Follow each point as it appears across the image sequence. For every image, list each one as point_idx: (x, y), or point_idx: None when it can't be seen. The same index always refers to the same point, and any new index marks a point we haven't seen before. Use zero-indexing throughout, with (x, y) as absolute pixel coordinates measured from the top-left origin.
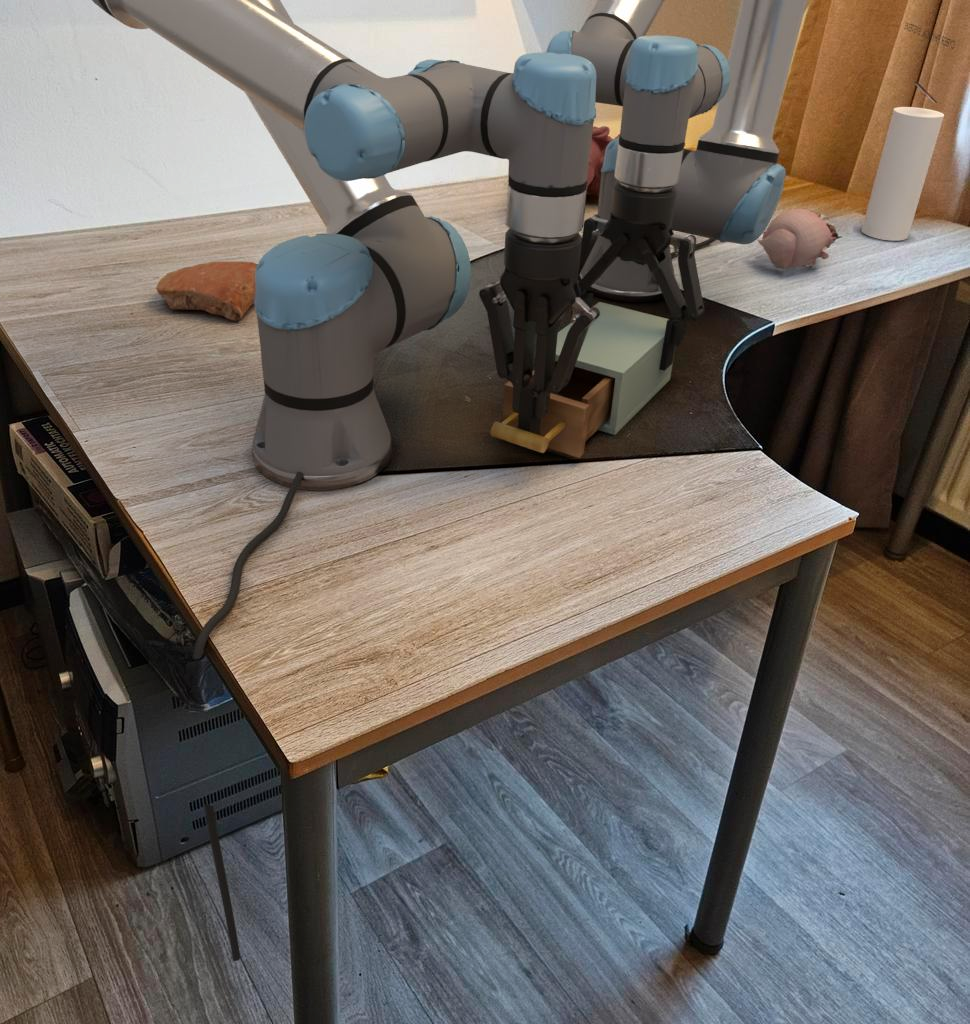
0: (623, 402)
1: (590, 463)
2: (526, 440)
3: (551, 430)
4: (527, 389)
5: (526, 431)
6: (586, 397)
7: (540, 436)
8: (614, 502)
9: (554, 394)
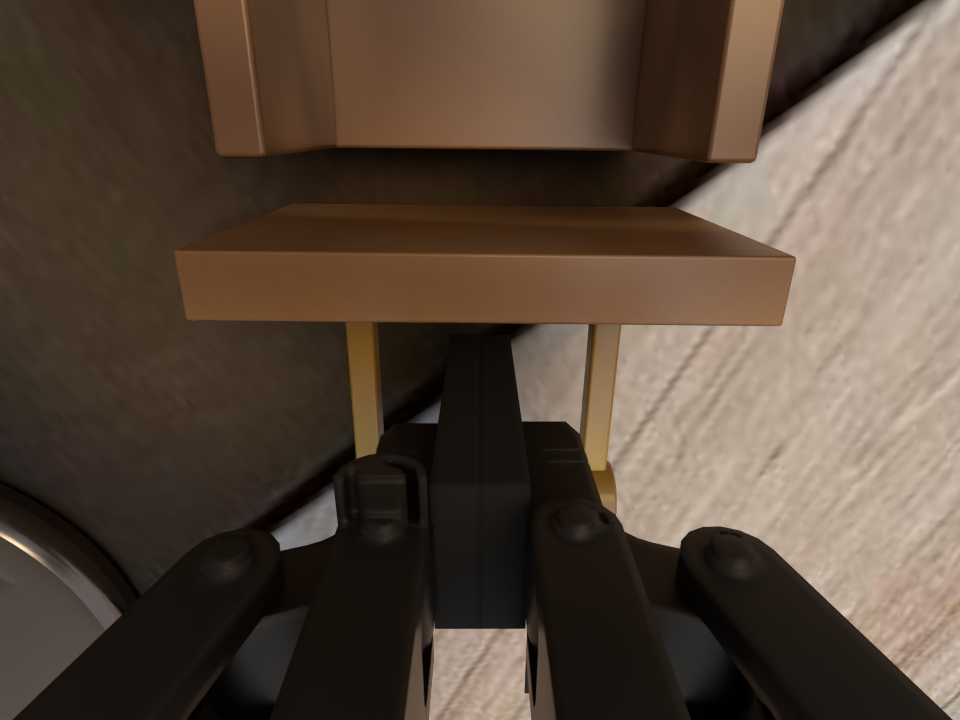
0: None
1: (698, 203)
2: None
3: (591, 397)
4: (464, 592)
5: None
6: (735, 136)
7: None
8: (847, 396)
9: (532, 260)
